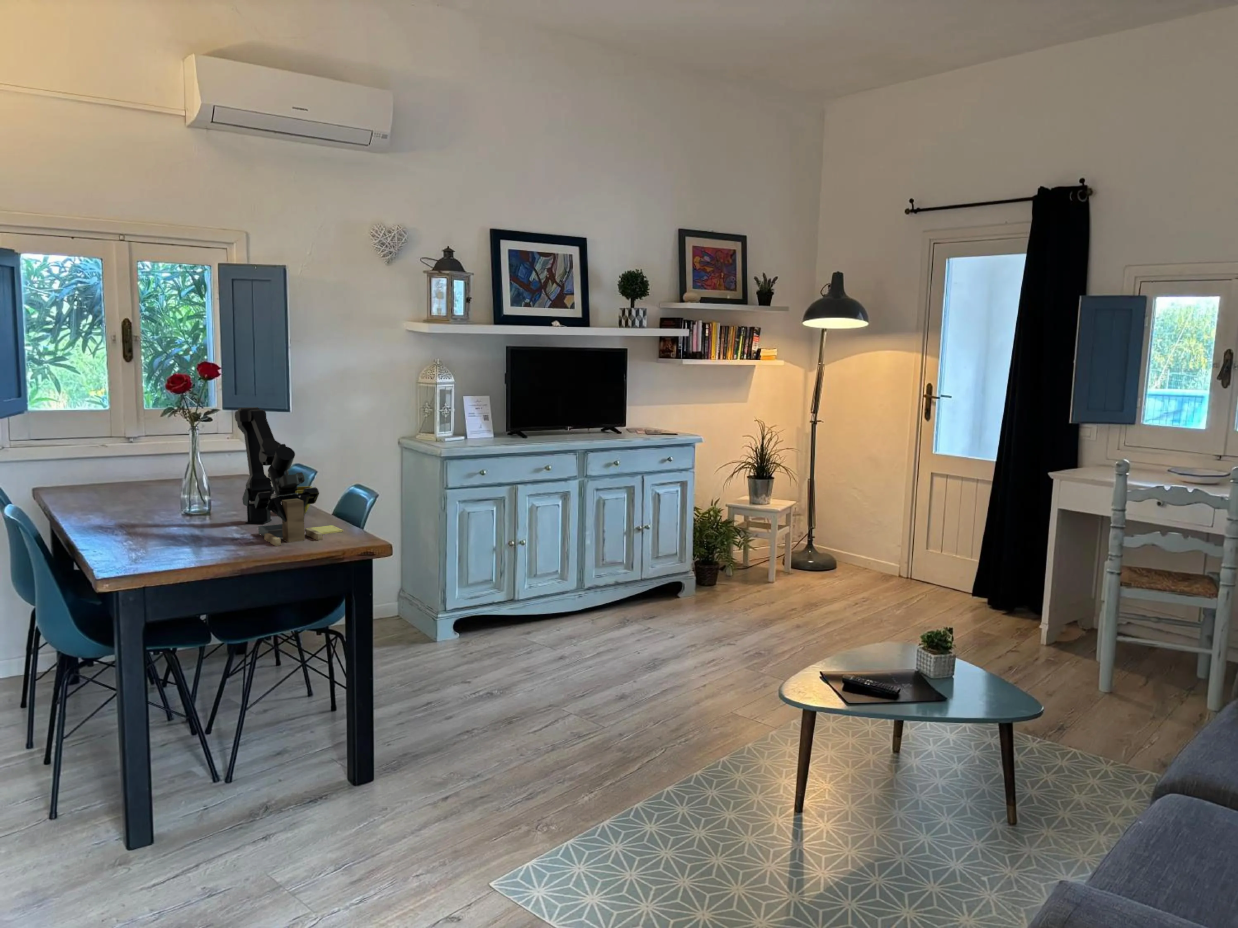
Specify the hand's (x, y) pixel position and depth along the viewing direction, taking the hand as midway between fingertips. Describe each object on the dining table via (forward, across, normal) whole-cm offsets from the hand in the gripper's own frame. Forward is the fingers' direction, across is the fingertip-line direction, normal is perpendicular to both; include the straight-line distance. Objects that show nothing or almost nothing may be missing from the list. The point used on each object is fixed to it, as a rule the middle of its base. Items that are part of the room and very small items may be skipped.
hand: (294, 519), depth 277 cm
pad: (-2, +13, +11) cm, 17 cm away
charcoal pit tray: (-4, -1, +13) cm, 13 cm away
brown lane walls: (+4, 0, +6) cm, 7 cm away
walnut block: (+4, 0, +6) cm, 7 cm away
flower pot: (-26, +17, +36) cm, 47 cm away
